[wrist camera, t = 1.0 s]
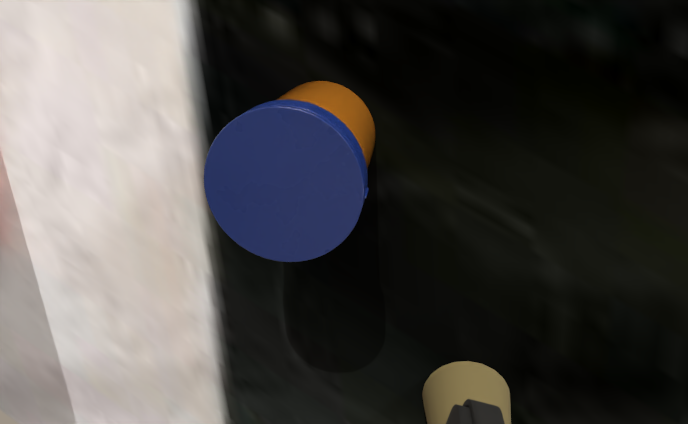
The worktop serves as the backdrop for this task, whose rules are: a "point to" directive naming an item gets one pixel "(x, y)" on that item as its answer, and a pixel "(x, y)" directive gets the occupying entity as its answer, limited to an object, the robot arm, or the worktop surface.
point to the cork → (464, 390)
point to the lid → (286, 180)
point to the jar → (340, 109)
